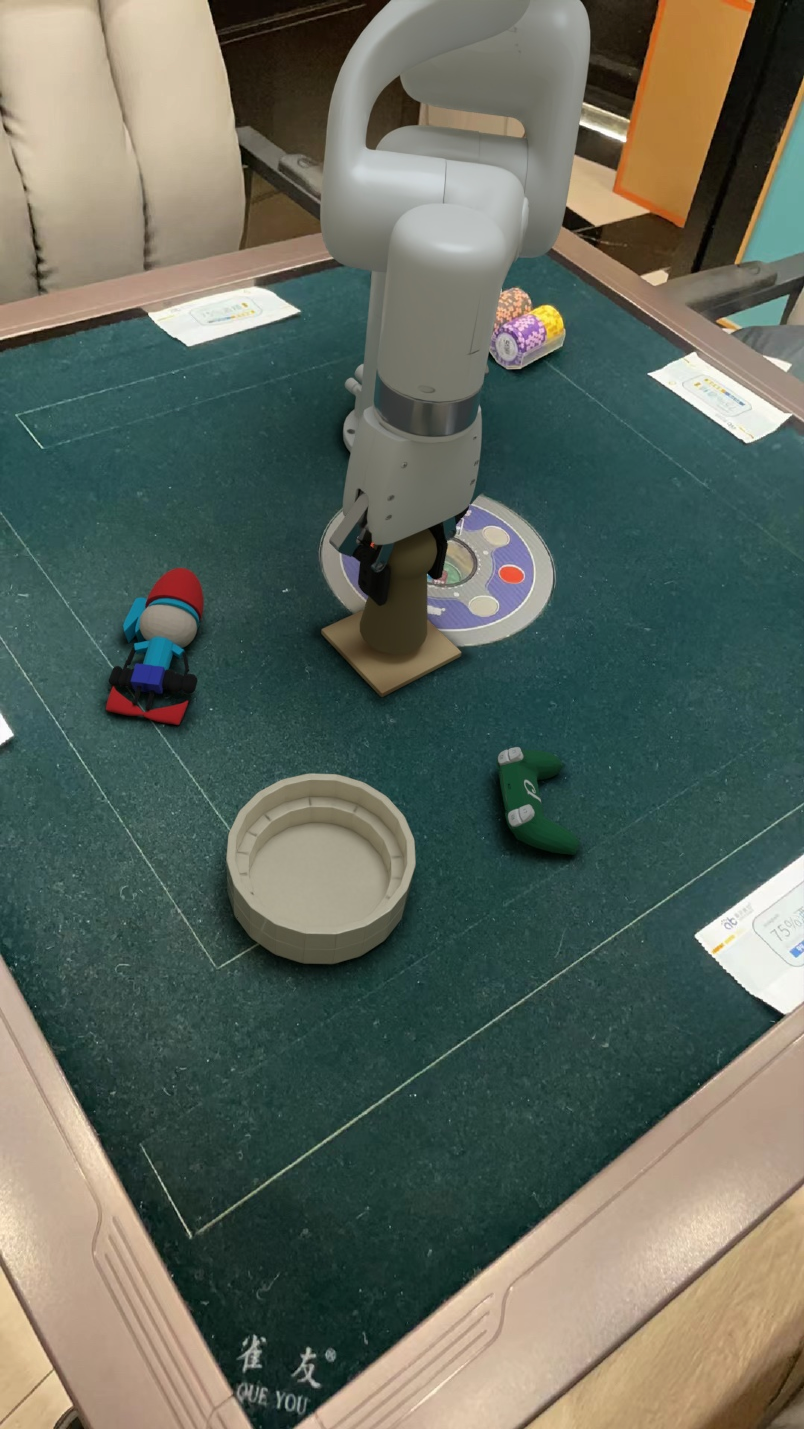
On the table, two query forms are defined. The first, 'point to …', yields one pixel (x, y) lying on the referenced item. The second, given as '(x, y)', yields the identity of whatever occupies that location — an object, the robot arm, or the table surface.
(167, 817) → the table surface
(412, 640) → the olive brown pawn
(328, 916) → the bowl
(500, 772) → the gaming controller
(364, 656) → the coaster
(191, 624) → the toy figure
